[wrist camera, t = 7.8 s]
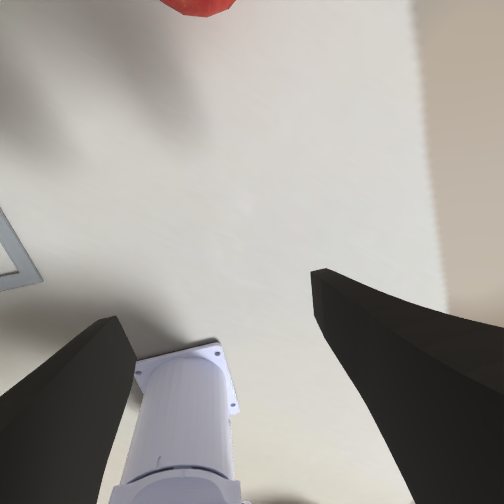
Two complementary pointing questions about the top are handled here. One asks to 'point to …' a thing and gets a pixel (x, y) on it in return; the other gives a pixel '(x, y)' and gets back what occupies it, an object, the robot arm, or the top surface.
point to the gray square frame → (16, 259)
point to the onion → (199, 6)
